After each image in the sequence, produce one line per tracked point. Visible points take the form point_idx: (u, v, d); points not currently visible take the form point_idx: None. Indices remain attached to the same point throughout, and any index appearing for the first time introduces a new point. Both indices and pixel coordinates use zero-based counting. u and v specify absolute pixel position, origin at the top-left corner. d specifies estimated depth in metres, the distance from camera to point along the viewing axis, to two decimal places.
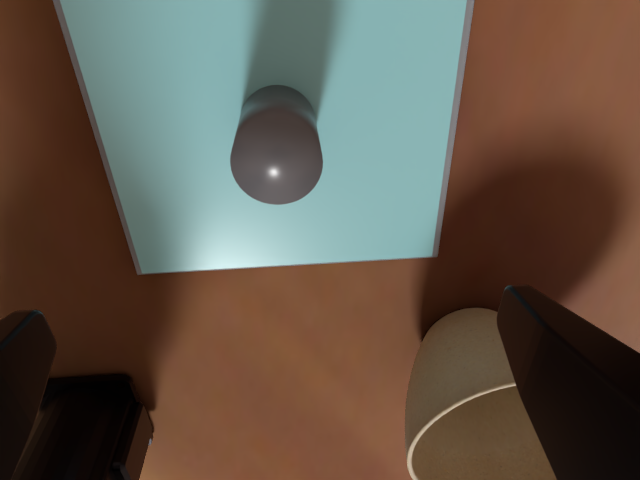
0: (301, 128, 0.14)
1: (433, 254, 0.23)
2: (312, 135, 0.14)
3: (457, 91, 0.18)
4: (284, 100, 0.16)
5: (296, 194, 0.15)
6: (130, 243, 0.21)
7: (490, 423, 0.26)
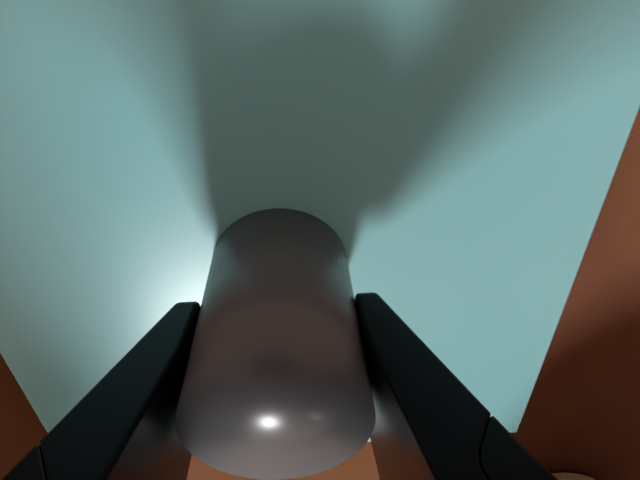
0: (334, 371, 0.06)
1: None
2: (357, 381, 0.06)
3: None
4: (294, 268, 0.08)
5: (316, 465, 0.08)
6: None
7: None
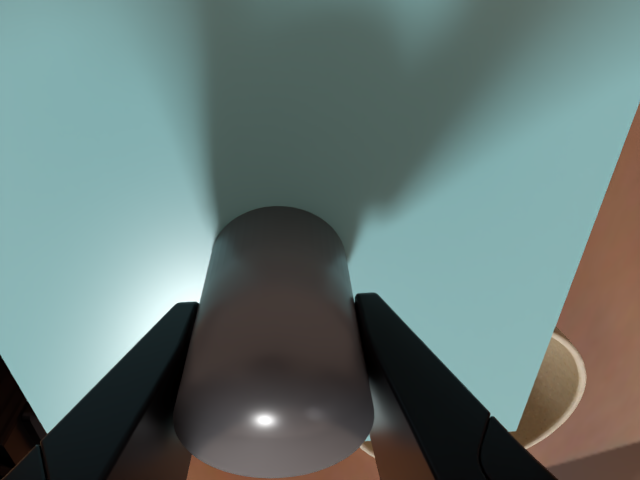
0: (332, 369, 0.06)
1: None
2: (356, 378, 0.06)
3: None
4: (293, 265, 0.08)
5: (315, 463, 0.07)
6: None
7: None
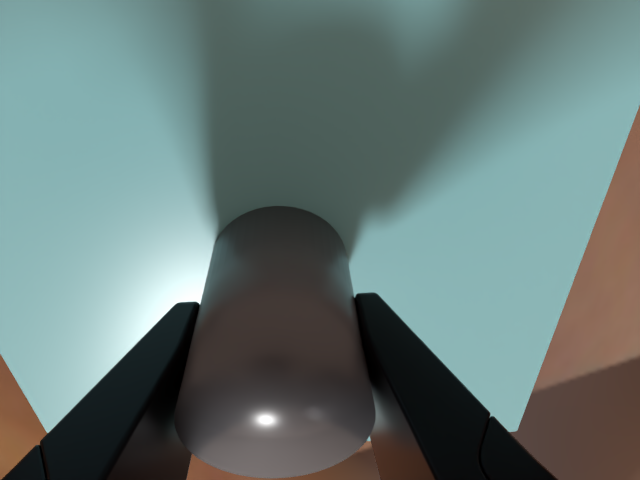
0: (334, 368, 0.06)
1: None
2: (357, 378, 0.06)
3: None
4: (294, 265, 0.08)
5: (316, 463, 0.07)
6: None
7: None
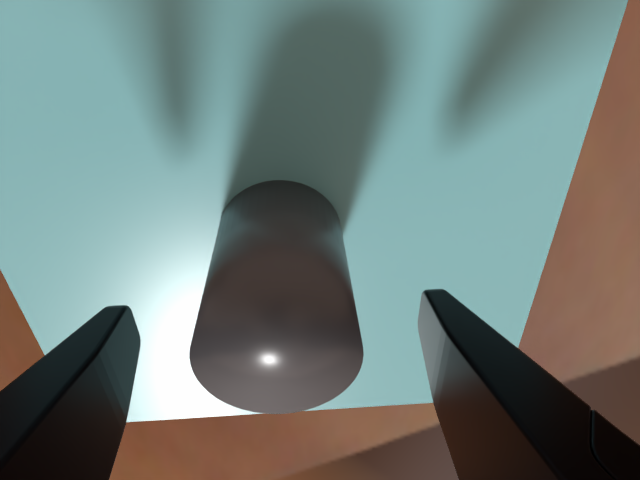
0: (326, 308, 0.07)
1: None
2: (346, 317, 0.07)
3: None
4: (293, 227, 0.09)
5: (312, 399, 0.09)
6: None
7: None
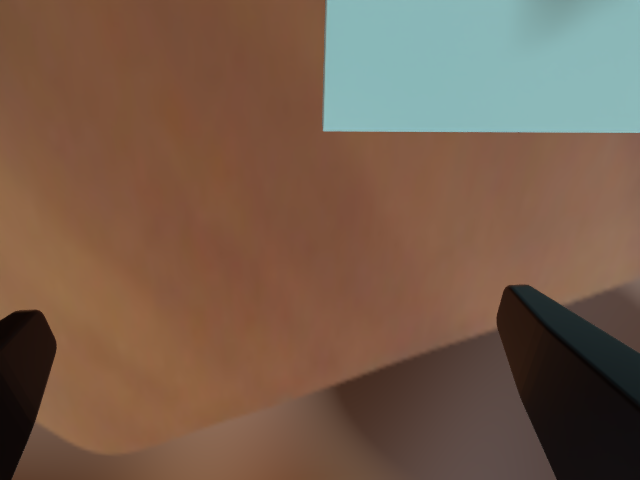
0: None
1: None
2: None
3: None
4: None
5: None
6: None
7: None
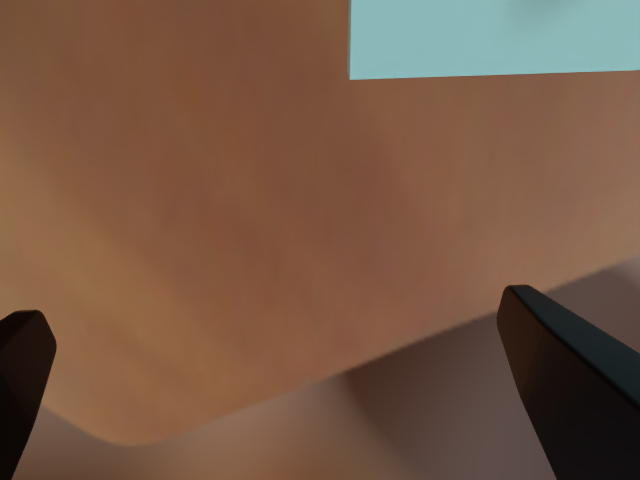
0: None
1: None
2: None
3: None
4: None
5: None
6: None
7: None
